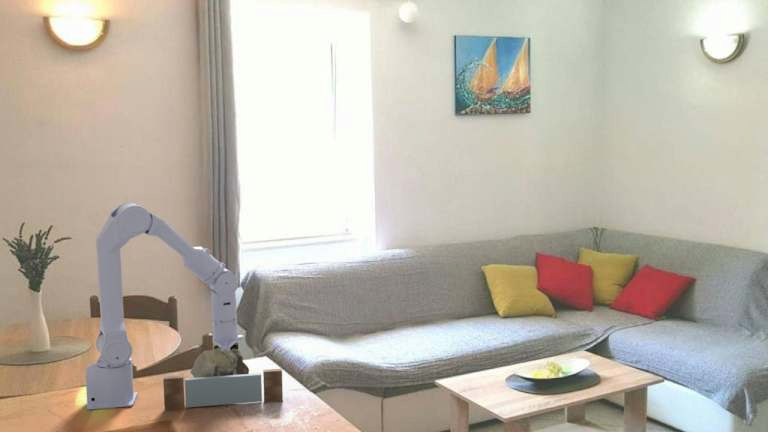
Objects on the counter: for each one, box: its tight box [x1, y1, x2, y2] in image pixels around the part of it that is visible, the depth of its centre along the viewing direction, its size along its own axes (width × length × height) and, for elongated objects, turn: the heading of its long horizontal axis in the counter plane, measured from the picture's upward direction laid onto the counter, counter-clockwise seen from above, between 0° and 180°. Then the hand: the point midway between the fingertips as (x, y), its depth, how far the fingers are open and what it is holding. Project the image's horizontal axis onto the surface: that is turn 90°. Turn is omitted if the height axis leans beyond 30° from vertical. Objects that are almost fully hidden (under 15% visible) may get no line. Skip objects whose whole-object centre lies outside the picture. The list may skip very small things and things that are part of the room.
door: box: [184, 372, 263, 408], centre depth 156 cm, size 16×1×6 cm, turn 101°
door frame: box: [162, 368, 284, 412], centre depth 156 cm, size 25×2×7 cm, turn 101°
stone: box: [189, 347, 250, 378], centre depth 164 cm, size 11×14×10 cm
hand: (227, 374), depth 170 cm, fingers closed, pressing on stone
